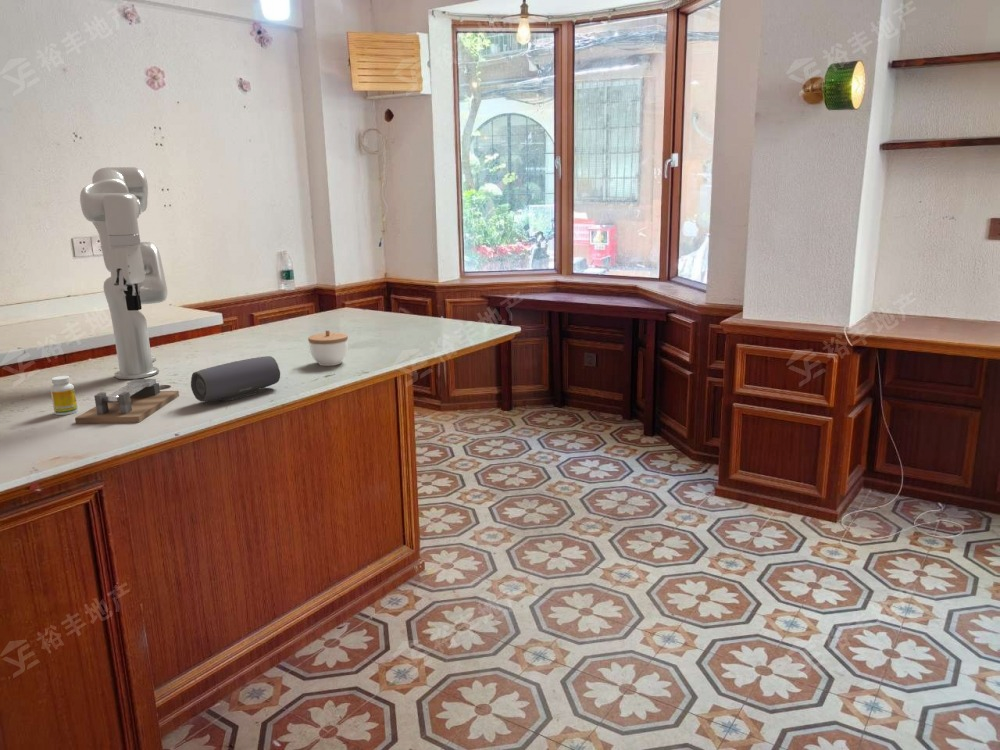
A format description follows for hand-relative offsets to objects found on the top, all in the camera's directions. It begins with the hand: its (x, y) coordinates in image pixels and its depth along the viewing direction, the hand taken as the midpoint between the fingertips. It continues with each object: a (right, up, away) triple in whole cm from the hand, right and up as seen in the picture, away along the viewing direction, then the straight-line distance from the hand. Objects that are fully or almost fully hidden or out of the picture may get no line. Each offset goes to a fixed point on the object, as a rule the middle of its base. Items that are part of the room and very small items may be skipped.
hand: (134, 309), depth 200 cm
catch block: (+1, -23, +5) cm, 24 cm away
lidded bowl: (+43, -14, +43) cm, 63 cm away
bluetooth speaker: (+26, -24, +7) cm, 36 cm away
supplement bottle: (-15, -28, -5) cm, 32 cm away
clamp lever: (0, -23, -4) cm, 23 cm away
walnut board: (+1, -27, -3) cm, 27 cm away
